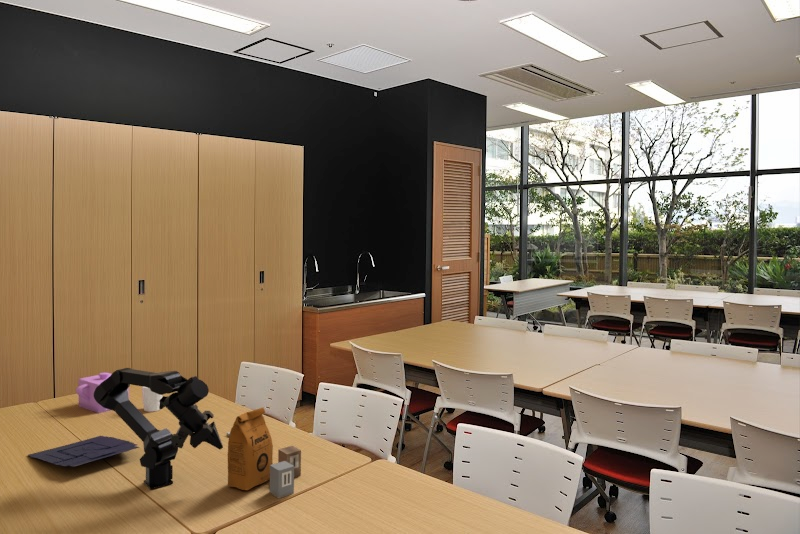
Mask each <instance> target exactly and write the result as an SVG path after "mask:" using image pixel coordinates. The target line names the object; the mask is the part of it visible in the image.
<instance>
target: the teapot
mask: <svg viewBox="0 0 800 534" xmlns="http://www.w3.org/2000/svg"><path fill="white" fill-rule="evenodd" d="M111 375H112V373H110V372H100V373H98V374H95V375H92V376H85V377H81V378H78V380H77V382H78V387H76V389H75V393H76V395H78V407H80V408H83V409H86V410H89V411H91V412H95V413H96V414H102V413H106V412H110V411H111V410H110V409H106V408H104V407H102V406H101V405H100V404H98V403H97V402H96V400H95V399H94V391H95V389H96V387H97V386H99V385H100V384H101V383H102V382H103V381H104V380H106V379H107V378H108V377H110V376H111ZM129 390H130V387H129V388H128V389H127V391H128V399H129V400H130V391H129Z"/></svg>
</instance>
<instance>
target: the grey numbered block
mask: <svg viewBox="0 0 800 534" xmlns="http://www.w3.org/2000/svg"><path fill="white" fill-rule="evenodd" d="M269 493H270V494H272V495H273V496H275V497H276V498H278V499H281V498H283V497H286V496H289V495H293V494H294V493H295V478H294V466H293V465H291V464H290V463H288V462H286V461H282V462H279V463H278V462H276V463H273V464H272V465H270V480H269Z"/></svg>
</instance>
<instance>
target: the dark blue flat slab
mask: <svg viewBox="0 0 800 534" xmlns="http://www.w3.org/2000/svg"><path fill="white" fill-rule="evenodd" d="M139 448H140V447H139V446H138V444H136V443H134V442H132V441H130V440H125V439H120V438H116V437H112V436H104V435H98V436H95V437H91V438H87V439H83V440H80V441H76V442H73V443H70V444H66V445H65V444H64V445H62V446H58V447H52V448H48V449H45V450H41V451H37V452H34V453H30V454H27V456H29V457H31V458H34V459H39V460H42V461H45V462H48V463H51V464H53V465H57V466H62V467H68V466H69V467H72V468H73V467H77V466H81V465H84V464H87V463H91V462H95V461H98V460H101V459H105V458H107V457H112V456H114V455H115V456H116V455H118V454H121V453H125V452H130V451H133V450H137V449H139Z"/></svg>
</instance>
